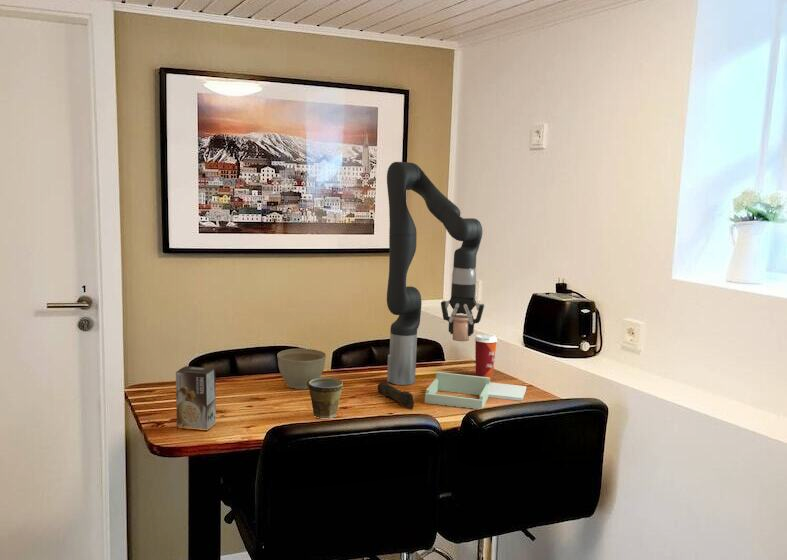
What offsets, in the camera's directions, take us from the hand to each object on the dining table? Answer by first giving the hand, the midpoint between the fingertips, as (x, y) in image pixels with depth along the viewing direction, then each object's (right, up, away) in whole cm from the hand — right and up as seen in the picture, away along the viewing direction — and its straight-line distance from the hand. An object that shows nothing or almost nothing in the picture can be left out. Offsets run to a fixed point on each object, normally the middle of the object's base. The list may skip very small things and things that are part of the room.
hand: (460, 334), depth 218 cm
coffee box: (-76, -23, -30) cm, 85 cm away
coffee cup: (+11, -18, +30) cm, 37 cm away
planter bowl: (-52, -18, +11) cm, 57 cm away
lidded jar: (0, -2, 0) cm, 2 cm away
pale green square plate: (+15, -20, +12) cm, 28 cm away
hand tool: (-20, -21, -1) cm, 29 cm away
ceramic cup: (-43, -22, -16) cm, 51 cm away
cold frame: (-1, -21, +3) cm, 21 cm away
